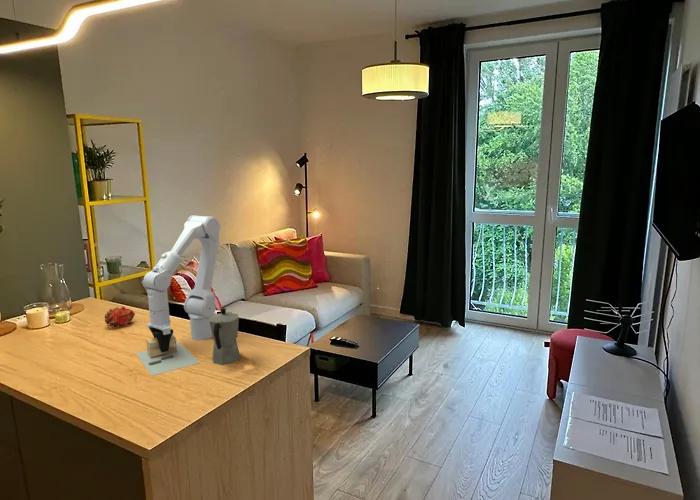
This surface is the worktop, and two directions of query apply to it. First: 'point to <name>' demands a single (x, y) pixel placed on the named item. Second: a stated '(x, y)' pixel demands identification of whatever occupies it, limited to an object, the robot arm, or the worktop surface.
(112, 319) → the dragon fruit
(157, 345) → the block
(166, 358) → the pencil mark
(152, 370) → the board
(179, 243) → the robot arm
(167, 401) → the worktop surface
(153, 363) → the pencil mark
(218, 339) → the coffeepot
